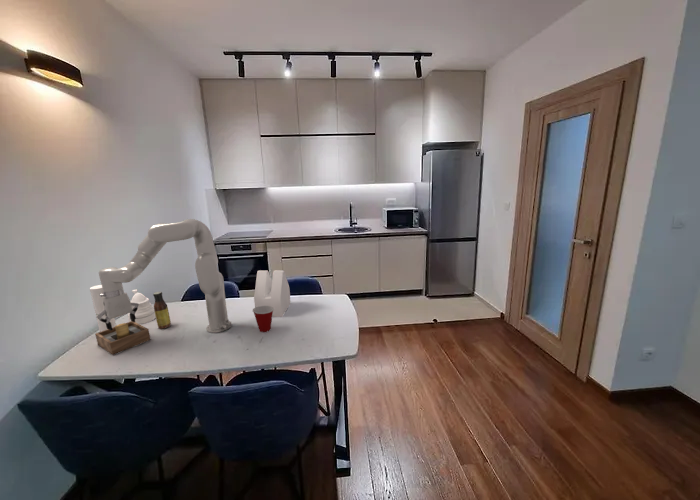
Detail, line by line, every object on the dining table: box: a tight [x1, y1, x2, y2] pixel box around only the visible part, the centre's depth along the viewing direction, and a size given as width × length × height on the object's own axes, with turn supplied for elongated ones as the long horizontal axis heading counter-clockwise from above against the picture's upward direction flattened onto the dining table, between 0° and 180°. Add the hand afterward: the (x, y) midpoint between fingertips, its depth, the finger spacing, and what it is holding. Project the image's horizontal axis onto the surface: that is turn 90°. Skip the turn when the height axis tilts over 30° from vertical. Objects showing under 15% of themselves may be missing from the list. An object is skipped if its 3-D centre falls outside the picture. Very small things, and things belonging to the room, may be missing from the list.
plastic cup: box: [252, 306, 274, 333], centre depth 156 cm, size 11×11×12 cm
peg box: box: [95, 321, 151, 356], centre depth 148 cm, size 18×16×6 cm
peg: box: [115, 322, 130, 339], centre depth 148 cm, size 5×5×8 cm
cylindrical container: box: [89, 284, 117, 332], centre depth 160 cm, size 7×7×25 cm
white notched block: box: [253, 269, 292, 318], centre depth 179 cm, size 19×15×25 cm
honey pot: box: [127, 289, 156, 325], centre depth 172 cm, size 13×13×18 cm
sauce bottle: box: [152, 291, 172, 330], centre depth 162 cm, size 6×6×20 cm
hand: (122, 325), depth 147 cm, fingers open, 9 cm apart
